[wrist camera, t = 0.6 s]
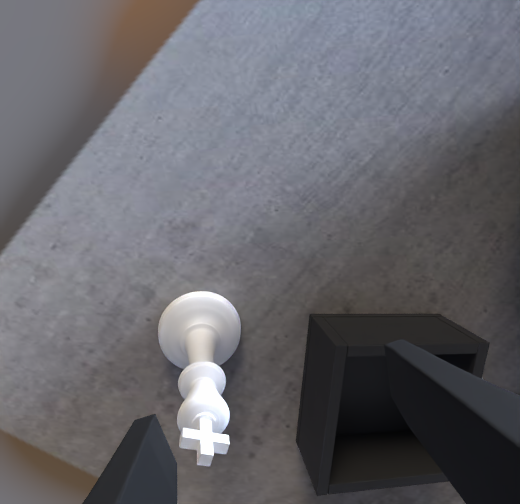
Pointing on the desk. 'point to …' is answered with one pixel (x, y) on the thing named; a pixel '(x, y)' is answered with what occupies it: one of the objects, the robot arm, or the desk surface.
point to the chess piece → (201, 367)
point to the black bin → (369, 399)
